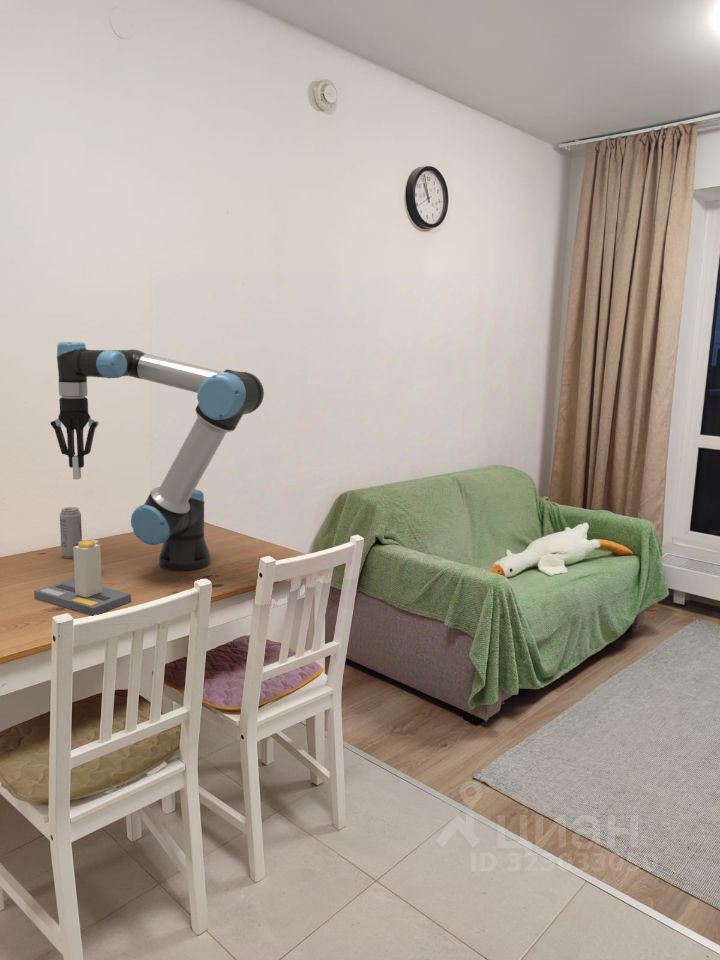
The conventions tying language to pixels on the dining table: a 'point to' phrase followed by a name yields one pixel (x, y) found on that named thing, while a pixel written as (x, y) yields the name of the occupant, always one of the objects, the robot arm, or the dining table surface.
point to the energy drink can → (70, 530)
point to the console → (81, 598)
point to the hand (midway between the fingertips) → (77, 478)
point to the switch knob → (87, 568)
